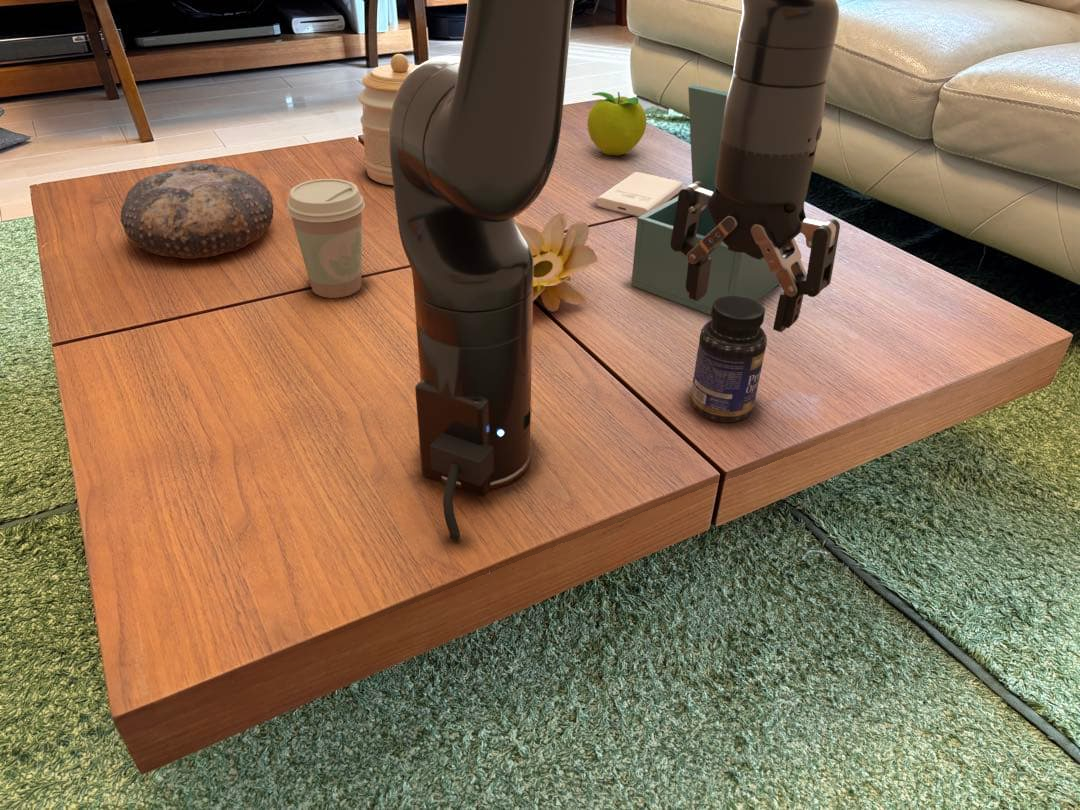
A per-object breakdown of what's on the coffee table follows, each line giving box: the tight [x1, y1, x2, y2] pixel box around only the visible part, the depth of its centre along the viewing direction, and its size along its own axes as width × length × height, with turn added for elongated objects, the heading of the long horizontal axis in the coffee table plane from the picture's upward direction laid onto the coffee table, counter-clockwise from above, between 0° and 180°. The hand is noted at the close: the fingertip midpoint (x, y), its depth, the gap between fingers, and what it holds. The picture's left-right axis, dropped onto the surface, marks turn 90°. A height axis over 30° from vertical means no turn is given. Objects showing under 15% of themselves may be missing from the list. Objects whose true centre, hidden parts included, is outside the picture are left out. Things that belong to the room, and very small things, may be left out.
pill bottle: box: [690, 295, 768, 423], centre depth 78 cm, size 6×6×11 cm
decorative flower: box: [515, 212, 598, 313], centre depth 97 cm, size 15×11×10 cm
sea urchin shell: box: [120, 162, 275, 259], centre depth 108 cm, size 19×19×10 cm
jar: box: [357, 53, 420, 186], centre depth 126 cm, size 13×13×18 cm
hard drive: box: [596, 171, 684, 218], centre depth 124 cm, size 2×8×12 cm
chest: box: [630, 195, 783, 316], centre depth 100 cm, size 13×14×9 cm
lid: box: [687, 83, 729, 192], centre depth 97 cm, size 13×14×5 cm
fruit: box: [587, 91, 647, 157], centre depth 138 cm, size 9×9×10 cm
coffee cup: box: [286, 178, 366, 299], centre depth 96 cm, size 8×8×12 cm
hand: (738, 312), depth 76 cm, fingers open, 8 cm apart
